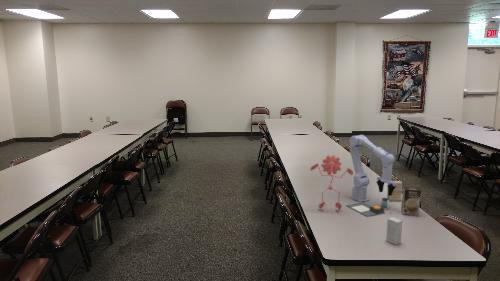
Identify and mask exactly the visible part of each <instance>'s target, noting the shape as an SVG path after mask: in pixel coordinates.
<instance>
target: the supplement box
mask: <svg viewBox="0 0 500 281" xmlns="http://www.w3.org/2000/svg"><path fill="white" fill-rule="evenodd" d="M393 181H394V182H395V183H396V187H395V189H394V190H393V193H392V195H391V196H388V189H387V190H386V191H387V192H386V198H387V199H388V200H387V201H388V202H402V196H403V182H402V181H401V180H393ZM387 185H390V184H388V183H387Z"/></svg>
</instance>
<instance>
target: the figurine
mask: <svg viewBox="0 0 500 281" xmlns="http://www.w3.org/2000/svg"><path fill="white" fill-rule="evenodd" d="M340 160H341V158H340V157H339V156H337V157H336V155H334V154H333V155H331V156H330V155H328V154H327V156H325V158H323V159H322V163H321V165H319V163H315V164H313V165H312V166H311V167H310V170H309V171H310V172H311V171H314V170H315V169H317V168H318V170H319V173H320V175H321V177H327V176H328V177H329V176H330V177H331V181H330V185H329V186H328V187H327V188H326V189H325V190H324V191H322V192H321V199H322V200H321V201H322V202H321V203H319V204H318V205H315V207H316V206H318V208H319V210H320V209H322V212H323V213H324V210H325V207H324V206H325V205H326V206H327V205H328V206H329V205H330V204H328V203H326V202H325V201H324V196H323V195H324V193H325V191H327V190H330V191H332V190H334V191H336V192H337V193H338V195H340V194H341V193H340V191H338V190H336V189H334V188H333V186H332V183H333V180H334V178H338V179H342V178H343V176H344V175H345V174H346V173H348V174H349V175H351V176H353V175H354V171H353V170H352V169H351V168H349V167H347V168H346V170H345V171H344V172H343V173H342V174H341V176H340V177H339V176H337V171H338V172H339V171H342V168H341V166H342V162H341V161H340ZM320 166H321V168H322V171H323V172H324V173H325V172H326V173H327V174H323V173H322V171H321V168H320ZM339 200H340V196H338V198H337V202H336V203H335V204H334V206H335V207H336V209H337V213H338V214H339V210H341V208H342V206H343V205H342V204H341V203H340V202H339Z"/></svg>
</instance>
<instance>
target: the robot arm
mask: <svg viewBox="0 0 500 281" xmlns="http://www.w3.org/2000/svg"><path fill="white" fill-rule="evenodd" d="M349 138H350V139H349V140H348V142H349V152H350V156H351V161H352V164H353V168H354V173H355V174H354V175H353V187H352V190H351V197H350V199H353V200H355V201H357V202H358V203H361V202H367V201H370V199H368V198H367V193H368V192H367V188H368V185H370V178H369V177H368V175H367V173H366V172H365V171H364V167H363V164H362V159H361V156H360V150H359V149H360V148H361V147H362V146H364V147H366V148H368V150H369V149H370V150H371V151H372V152H373V154H374V156H376V157H377V158H378V159H380V161H381V163H382V168H381V169H382V171H381V176H377V177H376V181H375V182H376V184H377V186H378V190H379V193H383V192H384V186H385V184H387V185H386V186H387V190H388V196H391V195H392V193H393V190H394V189H395V187H396V183H395V182H394V181H395V180H392V177H393V176H392V175H393V164H394V162H395V161H396V157H395V155H394V154H393V153H389V152H387V151H386V150H384V149H383V147H380V146H376V145H375V143H372V141H370V140H369V139H368V137H367V136H365V135H364V134H359V135H352V136H351V137H349ZM388 184H390V185H388Z"/></svg>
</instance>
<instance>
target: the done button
mask: <svg viewBox="0 0 500 281" xmlns="http://www.w3.org/2000/svg"><path fill="white" fill-rule="evenodd" d="M381 207H382V206H380V205H373V208H374V209H376V210H378V209H381Z"/></svg>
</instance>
